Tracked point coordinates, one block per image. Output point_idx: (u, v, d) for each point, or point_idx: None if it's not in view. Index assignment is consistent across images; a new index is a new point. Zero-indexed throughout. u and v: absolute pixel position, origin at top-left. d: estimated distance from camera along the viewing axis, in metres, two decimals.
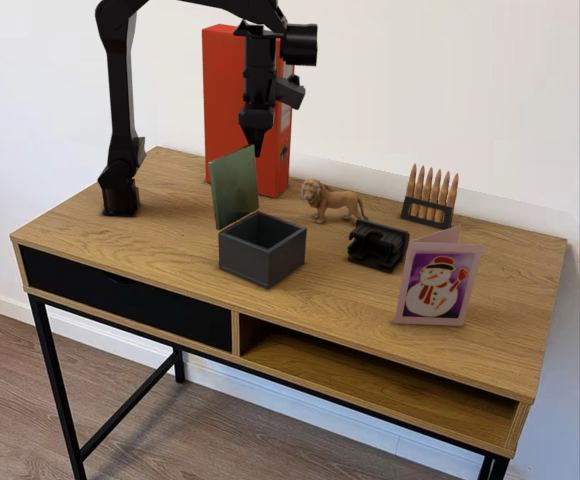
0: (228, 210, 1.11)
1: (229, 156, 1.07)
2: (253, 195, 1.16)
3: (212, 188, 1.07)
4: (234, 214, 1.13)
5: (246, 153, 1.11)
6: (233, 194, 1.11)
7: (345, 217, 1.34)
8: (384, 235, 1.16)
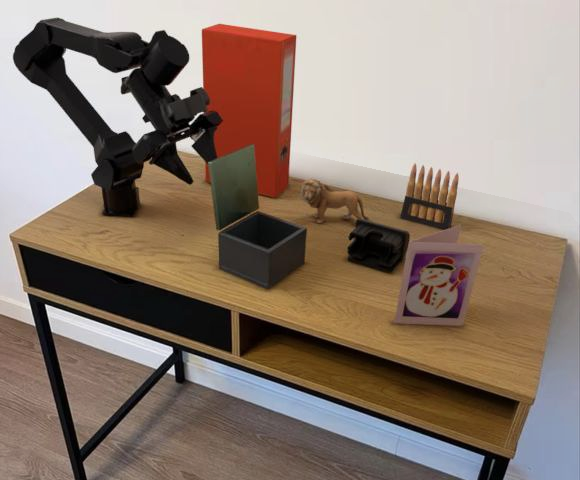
0: (228, 210, 1.11)
1: (229, 156, 1.07)
2: (253, 195, 1.16)
3: (212, 188, 1.07)
4: (234, 214, 1.13)
5: (246, 153, 1.11)
6: (233, 194, 1.11)
7: (345, 217, 1.34)
8: (384, 235, 1.16)
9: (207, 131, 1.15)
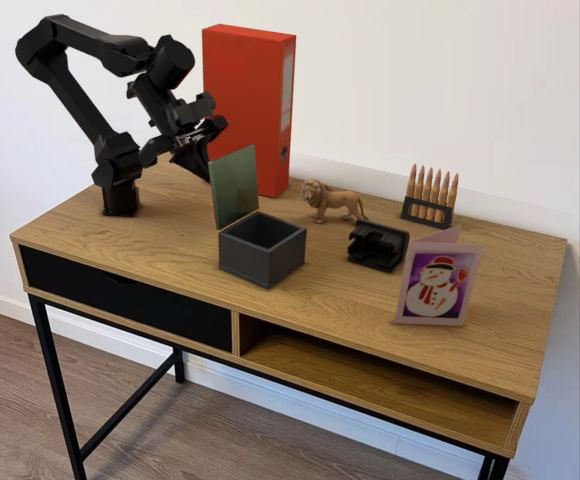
0: (228, 210, 1.11)
1: (229, 156, 1.07)
2: (253, 195, 1.16)
3: (212, 188, 1.07)
4: (234, 214, 1.13)
5: (246, 153, 1.11)
6: (233, 194, 1.11)
7: (345, 217, 1.34)
8: (384, 235, 1.16)
9: (200, 140, 1.12)
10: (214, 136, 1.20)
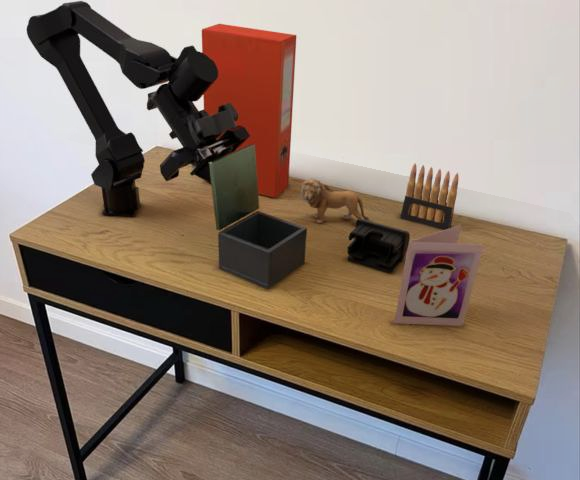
0: (228, 210, 1.11)
1: (230, 156, 1.07)
2: (253, 195, 1.16)
3: (213, 188, 1.07)
4: (234, 215, 1.13)
5: (247, 153, 1.11)
6: (233, 195, 1.11)
7: (345, 217, 1.34)
8: (384, 235, 1.16)
9: (222, 152, 1.10)
10: (235, 147, 1.19)
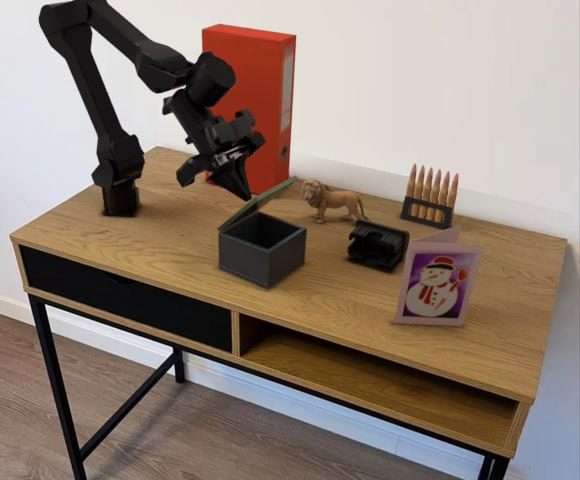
0: (238, 219, 1.11)
1: (274, 192, 1.06)
2: (263, 205, 1.16)
3: (241, 210, 1.05)
4: (239, 220, 1.13)
5: (287, 185, 1.09)
6: (251, 210, 1.10)
7: (345, 217, 1.34)
8: (384, 235, 1.16)
9: (238, 158, 1.09)
10: (250, 153, 1.17)
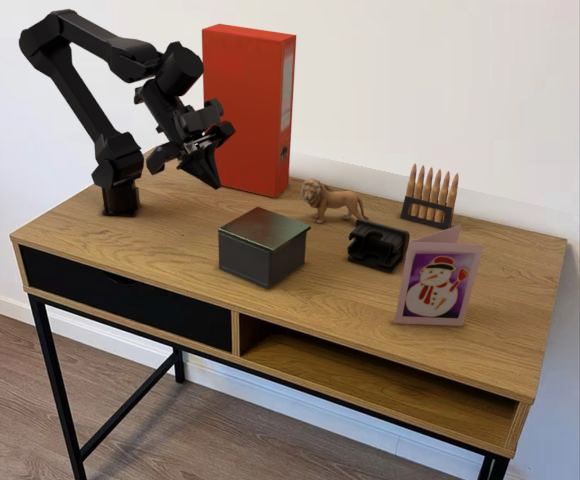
0: None
1: None
2: None
3: (252, 243, 1.08)
4: None
5: None
6: None
7: (345, 217, 1.34)
8: (384, 235, 1.16)
9: (208, 147, 1.12)
10: (221, 142, 1.20)
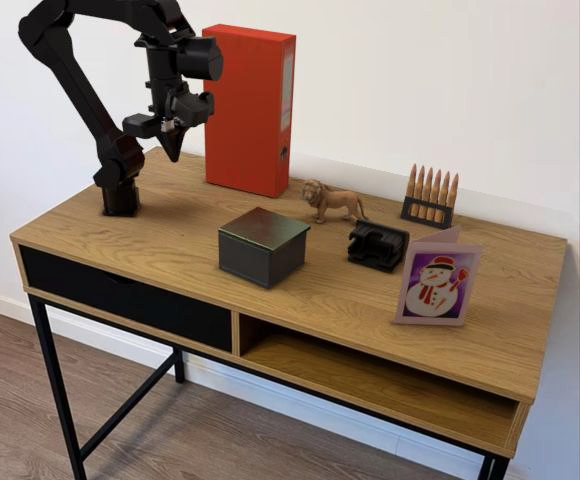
0: None
1: None
2: None
3: (252, 243, 1.08)
4: None
5: None
6: None
7: (345, 217, 1.34)
8: (384, 235, 1.16)
9: (183, 128, 1.17)
10: None
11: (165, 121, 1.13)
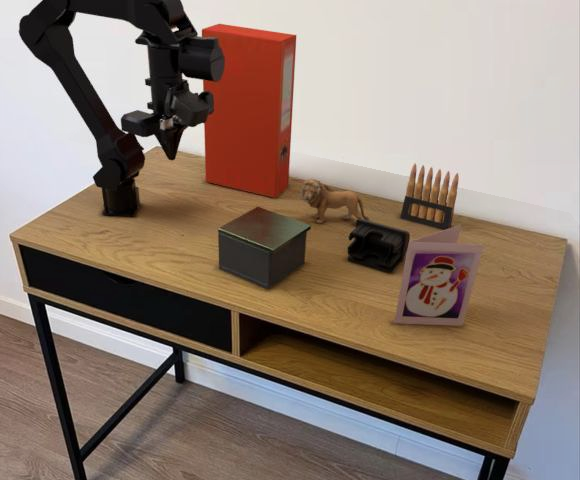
0: None
1: None
2: None
3: (252, 243, 1.08)
4: None
5: None
6: None
7: (345, 217, 1.34)
8: (384, 235, 1.16)
9: (182, 126, 1.17)
10: None
11: (164, 119, 1.13)
